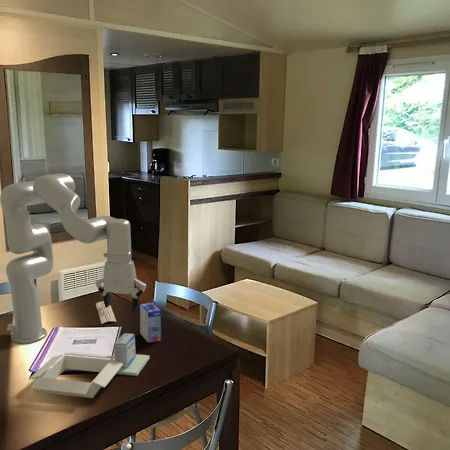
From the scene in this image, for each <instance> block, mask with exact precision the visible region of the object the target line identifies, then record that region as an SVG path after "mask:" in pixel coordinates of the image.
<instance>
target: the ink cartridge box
mask: <svg viewBox="0 0 450 450" xmlns="http://www.w3.org/2000/svg"><path fill="white" fill-rule="evenodd" d="M139 309H140V310H139V317H140V318H139V319H140V320H139V321H140V324H139V327H140V328H139V329H140V332H139V333H140V335H141V336H142V337H143V338H144V339H145V341H146V342H147V343H148V344H150V343H155V342H161V341H162V319H161V318H162V310H161V309H160V308H158V306H156V301H155V300H154V299H151V300H150V302H147V303H139Z"/></svg>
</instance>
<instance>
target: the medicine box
mask: <svg viewBox="0 0 450 450" xmlns="http://www.w3.org/2000/svg"><path fill="white" fill-rule="evenodd" d="M135 336H136V335H135V334H134V333H122V334H121V335H120V337H118V339H117V340H115V342H114V343H113V352H114V353H113V354H114V355H115V360H116V361H118V362H120V363H122V364H123V365H122V367H123V368H128V367H129V365H130V364H131V362H132V361H133V360H134V358H135V357H136V339H135V338H136V337H135Z"/></svg>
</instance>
